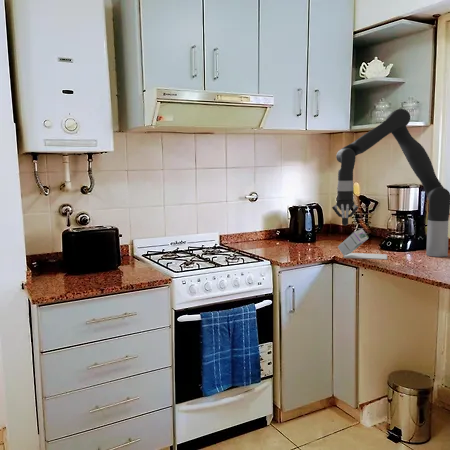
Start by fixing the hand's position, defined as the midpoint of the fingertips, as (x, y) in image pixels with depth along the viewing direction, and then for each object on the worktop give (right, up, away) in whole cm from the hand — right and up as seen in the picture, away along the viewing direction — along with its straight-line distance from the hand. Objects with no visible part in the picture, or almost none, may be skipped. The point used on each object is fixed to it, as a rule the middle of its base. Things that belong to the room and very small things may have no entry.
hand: (345, 225), depth 231 cm
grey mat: (+10, -15, -1) cm, 18 cm away
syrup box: (0, -12, +1) cm, 12 cm away
